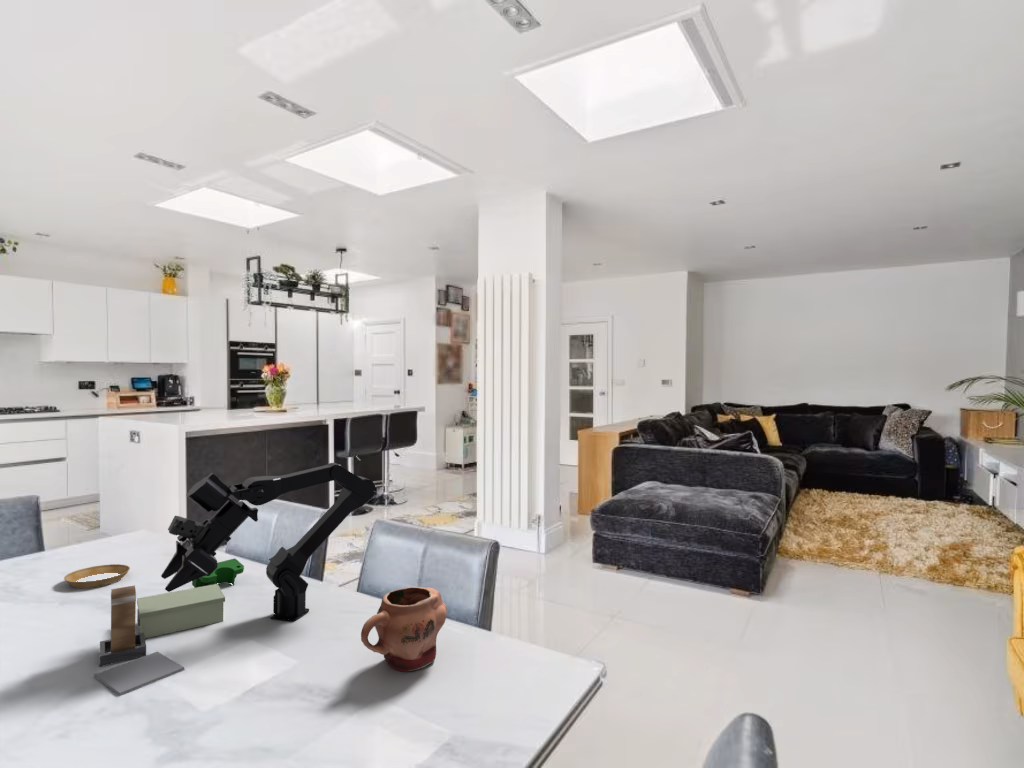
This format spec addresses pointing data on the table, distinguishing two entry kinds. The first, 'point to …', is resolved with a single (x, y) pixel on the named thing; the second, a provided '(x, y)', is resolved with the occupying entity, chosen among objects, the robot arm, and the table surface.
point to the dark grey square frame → (122, 651)
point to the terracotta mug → (407, 627)
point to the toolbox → (180, 610)
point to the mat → (138, 673)
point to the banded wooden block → (123, 618)
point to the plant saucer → (95, 570)
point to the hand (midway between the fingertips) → (164, 583)
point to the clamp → (221, 574)
